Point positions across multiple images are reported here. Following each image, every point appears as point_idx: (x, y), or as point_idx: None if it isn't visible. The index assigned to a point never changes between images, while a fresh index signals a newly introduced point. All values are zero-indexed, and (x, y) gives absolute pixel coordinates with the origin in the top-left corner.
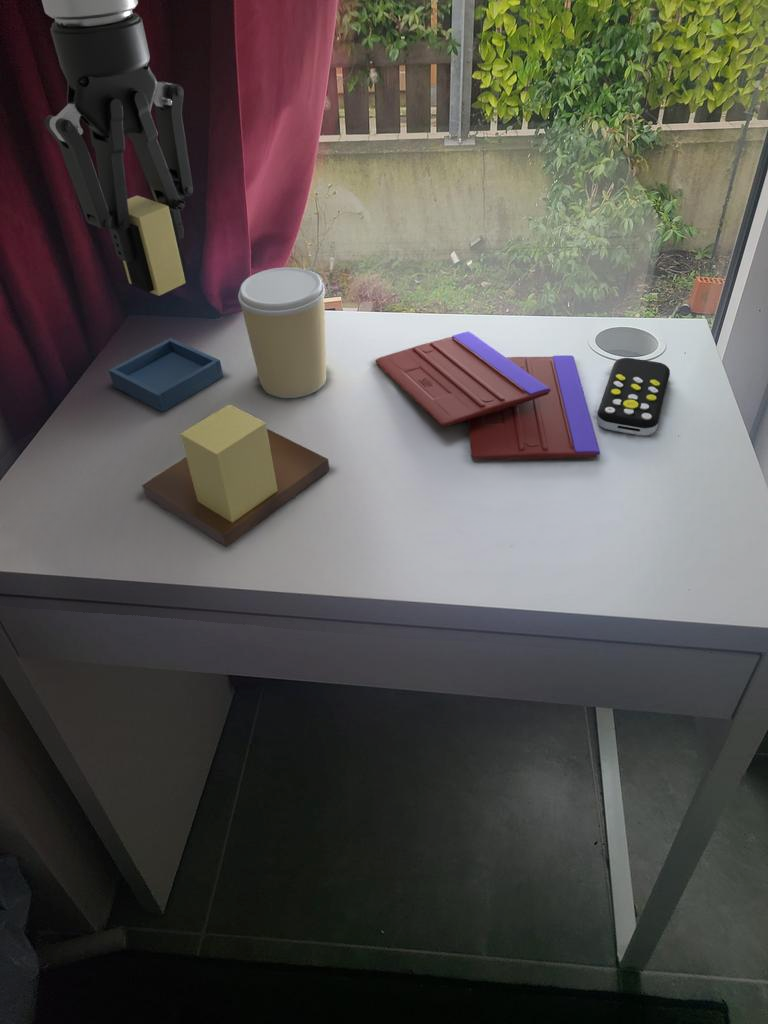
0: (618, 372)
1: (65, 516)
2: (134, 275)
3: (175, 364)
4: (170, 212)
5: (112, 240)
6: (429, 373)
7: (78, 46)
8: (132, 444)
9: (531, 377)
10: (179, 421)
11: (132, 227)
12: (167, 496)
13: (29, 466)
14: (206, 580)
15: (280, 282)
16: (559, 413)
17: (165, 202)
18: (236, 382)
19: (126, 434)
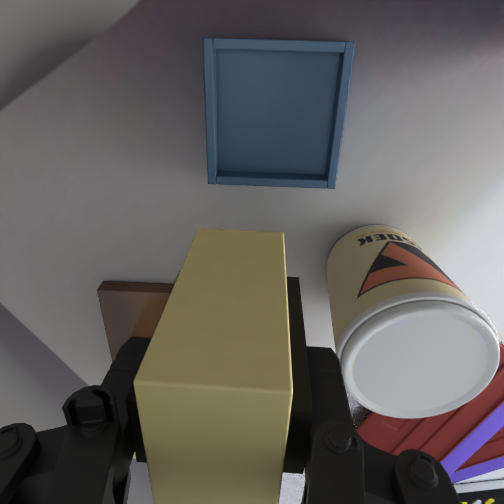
0: (498, 498)
1: (21, 239)
2: None
3: (309, 97)
4: (292, 472)
5: (103, 380)
6: None
7: None
8: (142, 197)
9: (450, 472)
10: (214, 209)
11: (144, 457)
12: (107, 320)
13: (14, 119)
14: (89, 382)
15: (432, 359)
16: None
17: (306, 481)
18: (328, 204)
19: (148, 172)
